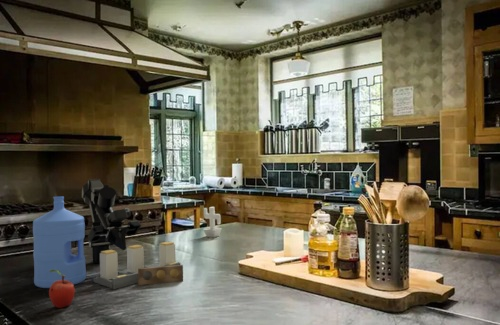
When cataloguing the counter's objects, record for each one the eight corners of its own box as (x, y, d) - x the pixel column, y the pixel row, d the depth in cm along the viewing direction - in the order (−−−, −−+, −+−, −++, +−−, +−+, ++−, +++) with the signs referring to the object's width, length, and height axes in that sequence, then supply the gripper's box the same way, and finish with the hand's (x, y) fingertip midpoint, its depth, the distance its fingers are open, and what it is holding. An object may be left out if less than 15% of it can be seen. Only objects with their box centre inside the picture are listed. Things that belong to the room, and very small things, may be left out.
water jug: (29, 291, 130) (26, 200, 130) (39, 277, 145) (37, 196, 145) (83, 286, 134) (81, 197, 134) (88, 273, 149) (86, 194, 149)
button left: (100, 277, 137) (99, 251, 137) (111, 275, 140) (110, 249, 140) (106, 280, 135) (106, 253, 135) (117, 277, 138) (117, 250, 138)
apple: (80, 301, 119) (79, 266, 119) (70, 310, 112) (69, 272, 112) (52, 302, 119) (51, 267, 118) (41, 311, 112) (40, 273, 112)
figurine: (217, 237, 212) (216, 208, 212) (201, 236, 216) (200, 207, 216) (224, 235, 219) (223, 206, 219) (208, 234, 223) (207, 205, 223)
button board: (93, 281, 138) (93, 271, 138) (159, 265, 158) (158, 257, 158) (114, 289, 130) (113, 278, 130) (180, 271, 150) (180, 261, 150)
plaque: (138, 285, 134) (138, 269, 134) (138, 283, 135) (138, 268, 135) (183, 281, 137) (182, 265, 137) (182, 280, 138) (182, 264, 138)
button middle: (127, 271, 145) (126, 246, 145) (137, 269, 148) (136, 244, 148) (134, 273, 142) (133, 247, 142) (144, 270, 145) (143, 245, 145)
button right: (159, 267, 149) (158, 243, 149) (168, 265, 152) (168, 241, 152) (166, 269, 147) (165, 244, 147) (175, 266, 150) (175, 242, 150)
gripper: (90, 203, 146) (108, 239, 138) (137, 199, 160) (155, 231, 152) (80, 224, 151) (96, 259, 144) (126, 218, 165) (143, 250, 158)
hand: (124, 249), depth 149 cm, fingers closed
